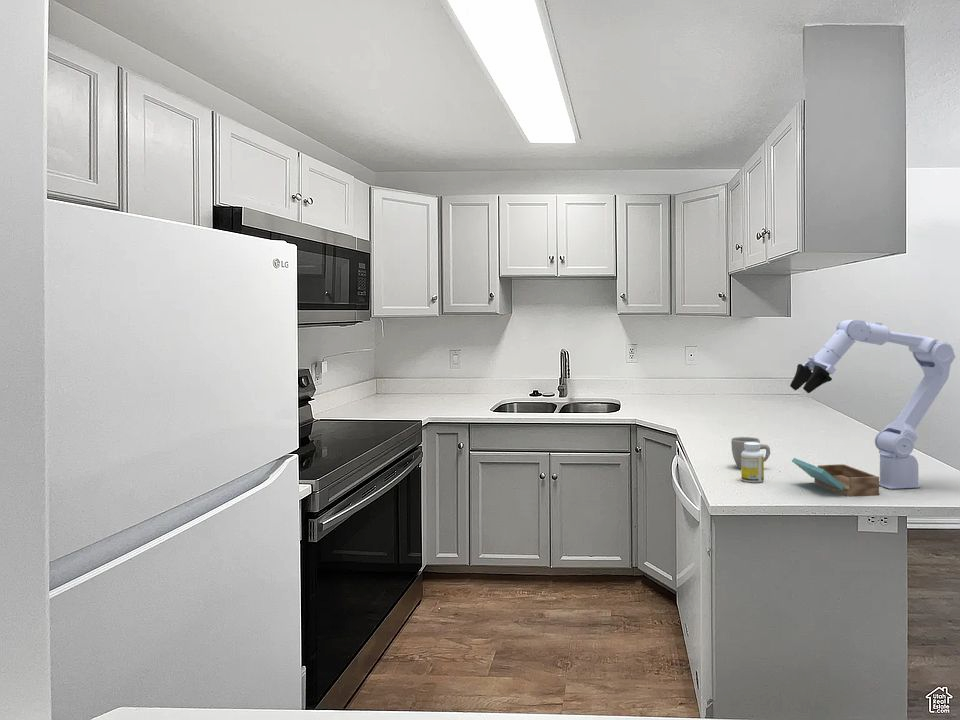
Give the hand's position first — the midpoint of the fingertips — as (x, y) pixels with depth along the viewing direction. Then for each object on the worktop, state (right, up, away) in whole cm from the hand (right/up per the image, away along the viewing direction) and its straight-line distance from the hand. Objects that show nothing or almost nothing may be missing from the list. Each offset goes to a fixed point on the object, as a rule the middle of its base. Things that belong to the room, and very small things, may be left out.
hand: (799, 389), depth 215 cm
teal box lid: (+9, -27, +2) cm, 28 cm away
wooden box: (+15, -29, +3) cm, 32 cm away
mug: (-2, -27, +33) cm, 43 cm away
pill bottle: (-8, -29, +15) cm, 33 cm away
